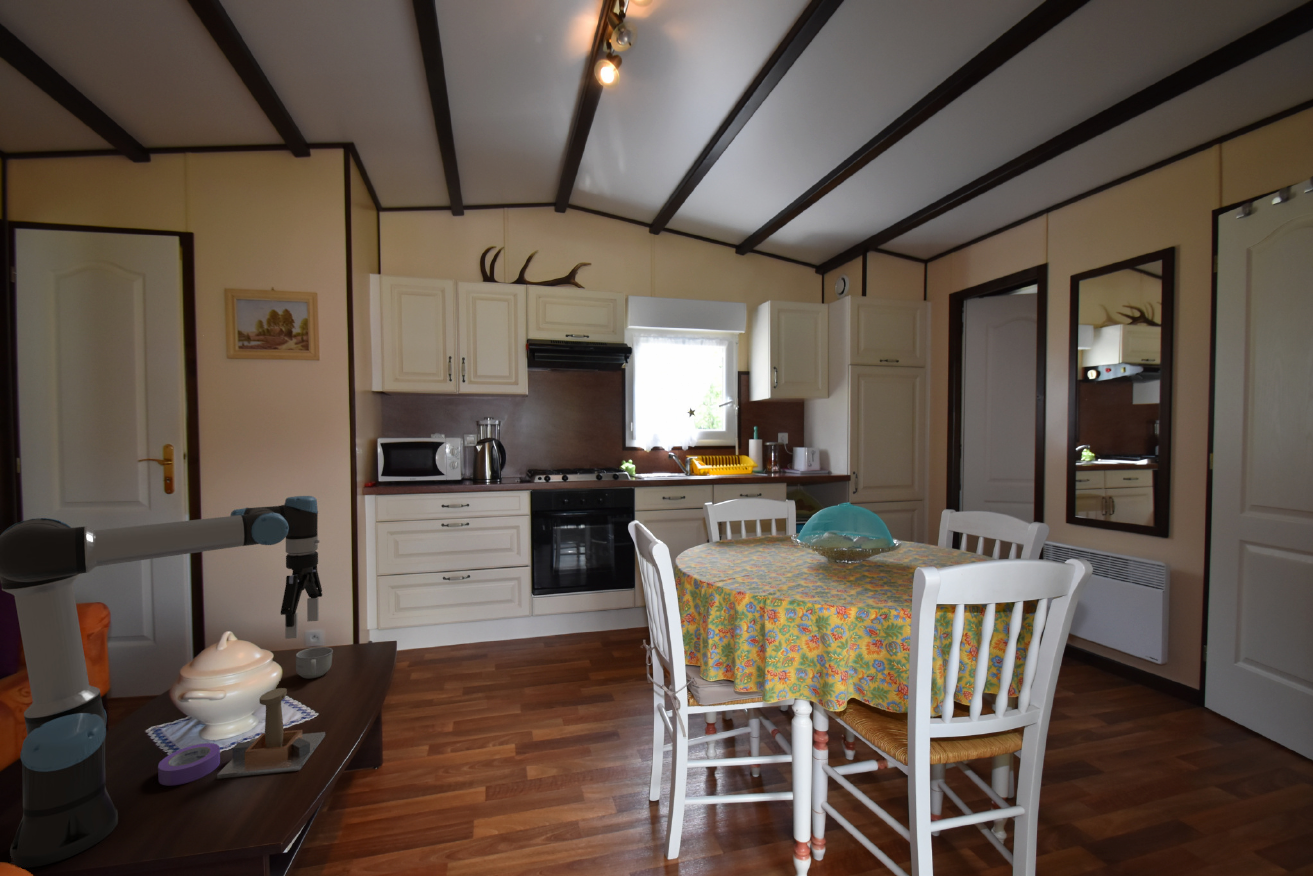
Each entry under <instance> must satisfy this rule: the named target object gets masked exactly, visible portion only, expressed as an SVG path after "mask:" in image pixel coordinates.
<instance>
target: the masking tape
mask: <svg viewBox="0 0 1313 876" xmlns="http://www.w3.org/2000/svg"><path fill="white" fill-rule="evenodd" d="M220 763H221V749H220V745H218V744H217V743H214V742H213V743H211V742H209V743H208V742H206V743H198V744H194V745H190V746H187V747H186V746H185V747H184V748H181V749H179V750H176V751H174V752H172V753H170V754H169V755H167V756H165V757H164V758H162V760H160V761H159V763H158V766H157V773H158V774H157V775H158V783H159V784H160V785H163V786H170V787H171V786H178V785H179V786H180V785H184V784H187V783H192V782H194V781H197V780H200V779H201V778H204V777H206V776H207V775H209V774H211V773H212V772H214V771H215V770H216V769H217V768H218V767H219V766H220Z"/></svg>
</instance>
